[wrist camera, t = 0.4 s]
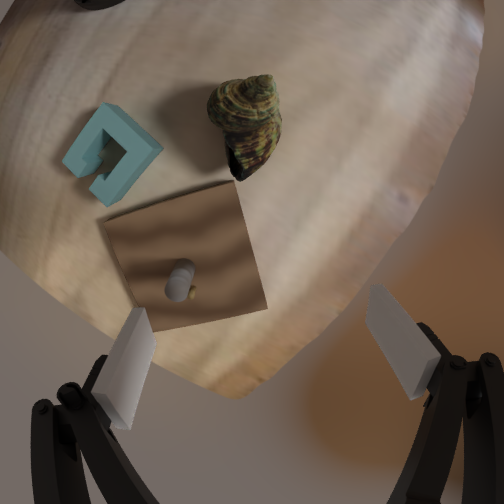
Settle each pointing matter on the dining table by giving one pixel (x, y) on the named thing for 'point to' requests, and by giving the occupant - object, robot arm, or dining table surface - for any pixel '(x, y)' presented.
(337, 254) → the dining table surface
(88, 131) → the teal slotted block
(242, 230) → the post block
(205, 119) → the dining table surface
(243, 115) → the seashell
